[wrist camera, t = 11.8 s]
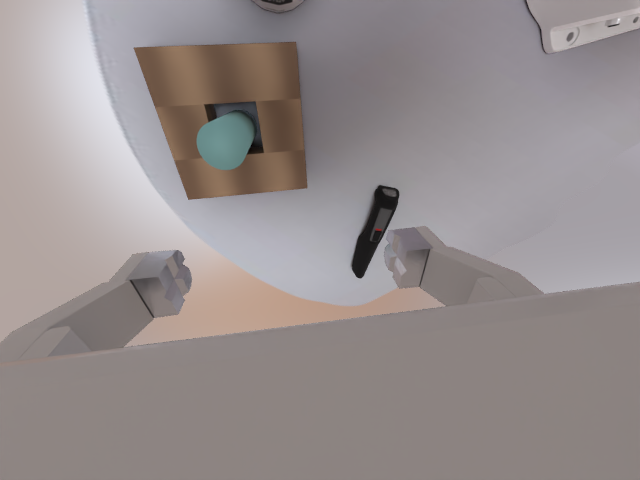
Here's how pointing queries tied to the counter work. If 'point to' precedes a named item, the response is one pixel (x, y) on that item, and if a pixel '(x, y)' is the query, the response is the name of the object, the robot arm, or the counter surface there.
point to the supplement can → (278, 4)
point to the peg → (227, 139)
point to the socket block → (229, 87)
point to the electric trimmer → (375, 228)
